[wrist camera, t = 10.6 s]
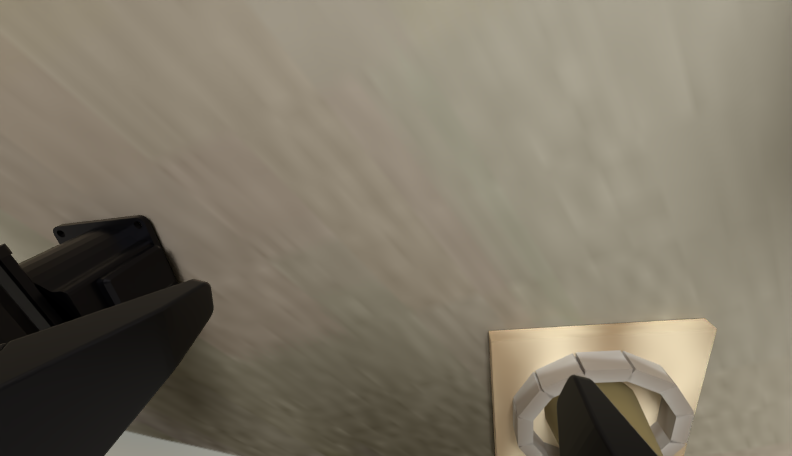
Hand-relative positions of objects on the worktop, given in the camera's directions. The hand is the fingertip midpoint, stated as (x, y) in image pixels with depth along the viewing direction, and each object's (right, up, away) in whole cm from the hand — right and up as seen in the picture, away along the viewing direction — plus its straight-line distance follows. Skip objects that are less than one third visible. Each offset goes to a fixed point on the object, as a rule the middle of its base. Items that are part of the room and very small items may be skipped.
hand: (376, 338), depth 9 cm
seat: (+14, -9, +17) cm, 24 cm away
